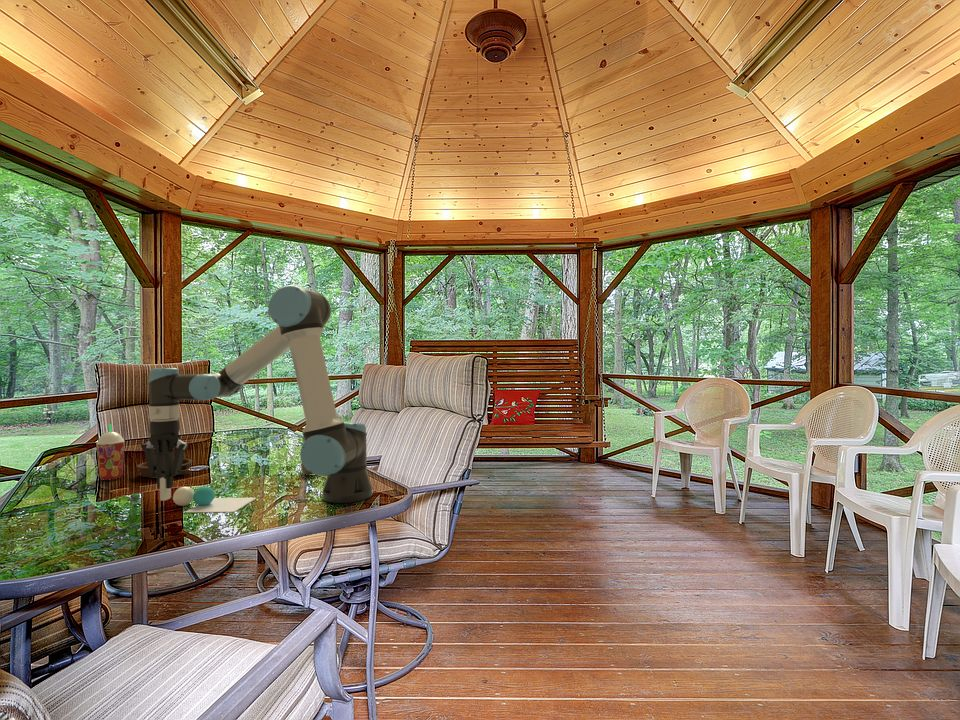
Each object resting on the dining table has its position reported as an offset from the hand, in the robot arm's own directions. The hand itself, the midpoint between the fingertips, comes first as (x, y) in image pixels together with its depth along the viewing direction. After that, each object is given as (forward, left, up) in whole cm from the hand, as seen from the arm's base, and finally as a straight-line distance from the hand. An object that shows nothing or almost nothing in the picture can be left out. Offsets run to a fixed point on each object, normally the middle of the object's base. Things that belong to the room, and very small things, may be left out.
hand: (165, 499), depth 146 cm
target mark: (-17, 0, -2) cm, 17 cm away
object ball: (-11, 0, +1) cm, 12 cm away
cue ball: (-5, 0, +1) cm, 6 cm away
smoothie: (+42, -34, -2) cm, 54 cm away
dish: (+26, -40, -2) cm, 48 cm away
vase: (-30, -38, -2) cm, 48 cm away
